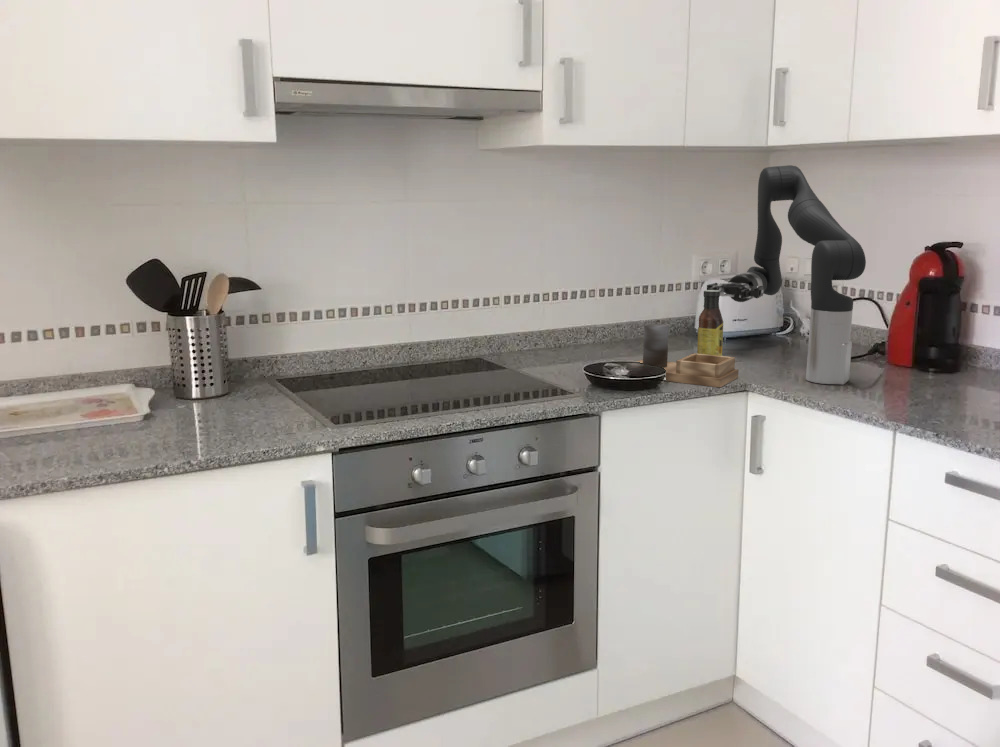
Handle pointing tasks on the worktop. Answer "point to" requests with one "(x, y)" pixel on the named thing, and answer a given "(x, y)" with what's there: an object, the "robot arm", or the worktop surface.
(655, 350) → the condiment caddy
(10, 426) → the worktop surface
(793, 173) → the robot arm
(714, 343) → the sauce bottle
